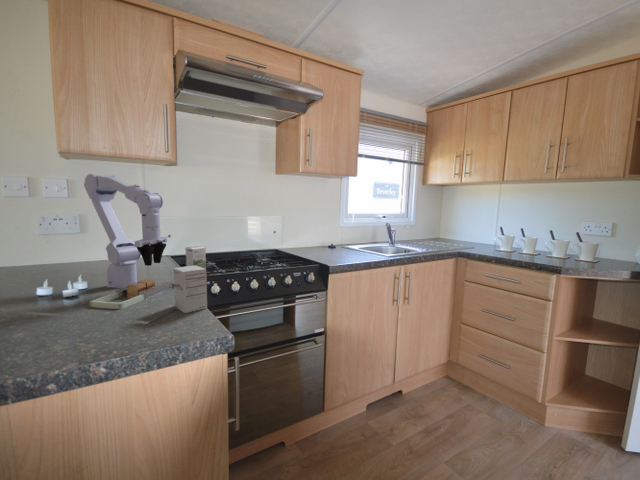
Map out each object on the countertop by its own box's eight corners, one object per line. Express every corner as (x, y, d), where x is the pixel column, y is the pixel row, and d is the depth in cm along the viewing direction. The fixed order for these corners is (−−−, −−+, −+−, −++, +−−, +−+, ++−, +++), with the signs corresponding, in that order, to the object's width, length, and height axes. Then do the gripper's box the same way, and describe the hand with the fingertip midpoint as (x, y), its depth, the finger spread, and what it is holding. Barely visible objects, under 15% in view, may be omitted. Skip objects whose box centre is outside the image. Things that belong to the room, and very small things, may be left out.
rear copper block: (137, 293, 112) (136, 282, 111) (145, 290, 116) (144, 279, 115) (147, 293, 111) (146, 282, 111) (155, 290, 115) (154, 279, 115)
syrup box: (198, 279, 135) (197, 245, 133) (206, 282, 131) (205, 247, 129) (186, 282, 130) (184, 247, 129) (193, 284, 127) (192, 248, 125)
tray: (89, 308, 97) (89, 301, 97) (117, 298, 107) (116, 292, 107) (120, 311, 95) (120, 303, 95) (145, 300, 106) (145, 293, 105)
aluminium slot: (114, 298, 107) (114, 290, 107) (144, 287, 121) (143, 280, 120) (146, 300, 105) (146, 292, 105) (173, 289, 119) (172, 282, 119)
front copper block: (127, 296, 107) (126, 285, 107) (136, 293, 111) (135, 282, 111) (138, 297, 107) (137, 285, 106) (146, 294, 111) (145, 283, 110)
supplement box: (174, 307, 99) (172, 267, 97) (197, 302, 104) (196, 264, 103) (183, 314, 94) (182, 271, 92) (208, 308, 99) (206, 268, 97)
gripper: (147, 228, 107) (148, 268, 108) (173, 225, 121) (175, 261, 123) (128, 228, 108) (130, 267, 110) (156, 225, 122) (158, 260, 124)
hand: (152, 264), depth 116 cm, fingers open, 4 cm apart
